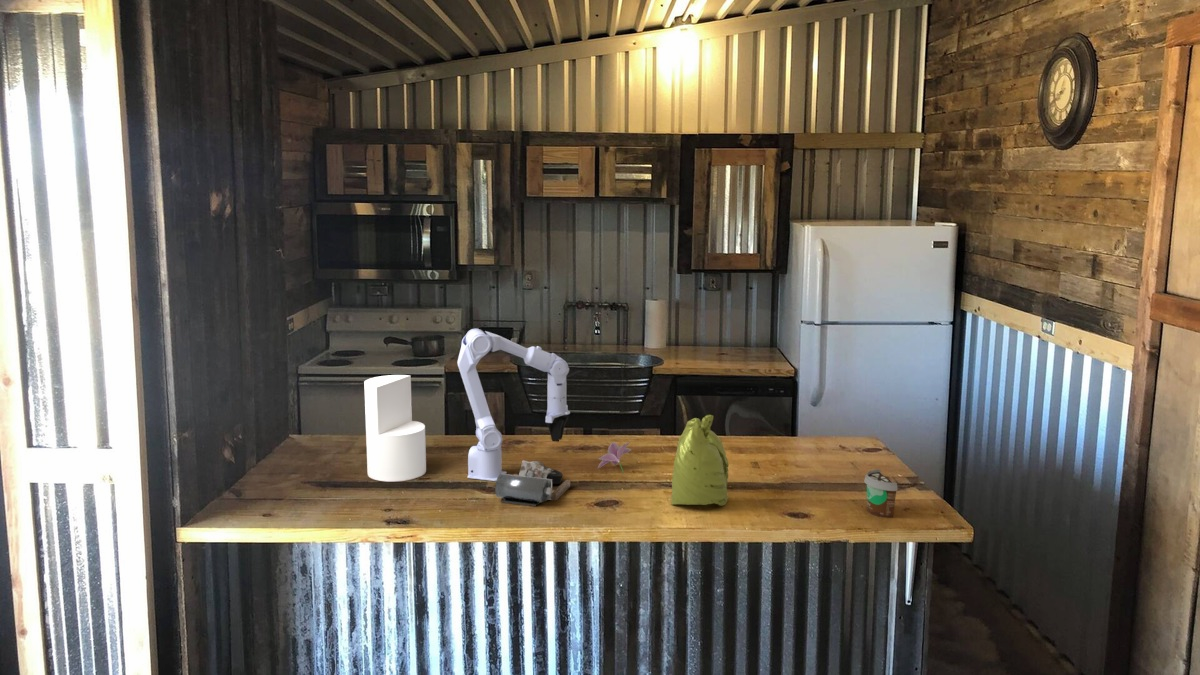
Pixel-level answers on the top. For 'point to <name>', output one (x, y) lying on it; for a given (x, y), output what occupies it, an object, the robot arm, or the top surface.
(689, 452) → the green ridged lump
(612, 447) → the lily
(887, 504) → the food container
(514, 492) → the motor mount
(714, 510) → the top surface
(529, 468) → the caster wheel
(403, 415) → the cylinder
